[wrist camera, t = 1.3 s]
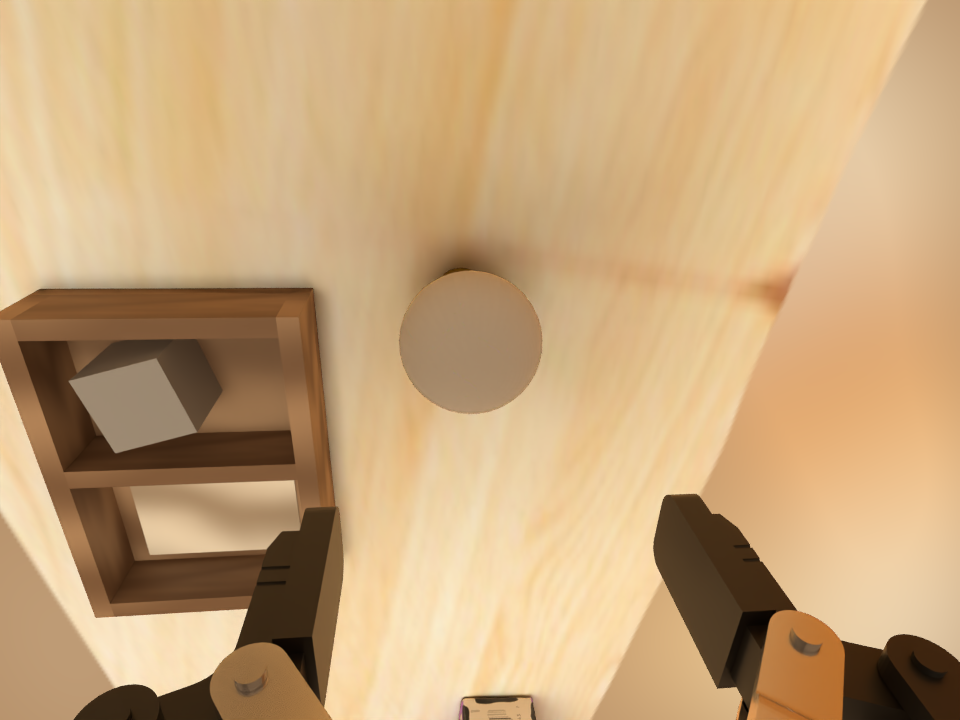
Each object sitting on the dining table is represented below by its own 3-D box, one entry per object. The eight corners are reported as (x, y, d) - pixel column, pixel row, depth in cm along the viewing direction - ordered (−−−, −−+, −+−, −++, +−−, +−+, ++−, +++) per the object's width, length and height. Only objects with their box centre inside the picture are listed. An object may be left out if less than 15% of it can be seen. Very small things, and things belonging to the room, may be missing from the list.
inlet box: (39, 289, 28) (-16, 320, 24) (312, 288, 29) (298, 317, 26) (127, 564, 36) (95, 617, 32) (339, 553, 37) (331, 603, 34)
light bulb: (488, 352, 32) (517, 459, 23) (387, 318, 31) (375, 417, 22) (533, 256, 30) (583, 331, 21) (426, 213, 28) (431, 276, 19)
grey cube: (111, 343, 29) (68, 381, 25) (188, 323, 29) (156, 358, 25) (150, 409, 31) (115, 453, 27) (222, 390, 31) (197, 432, 27)
